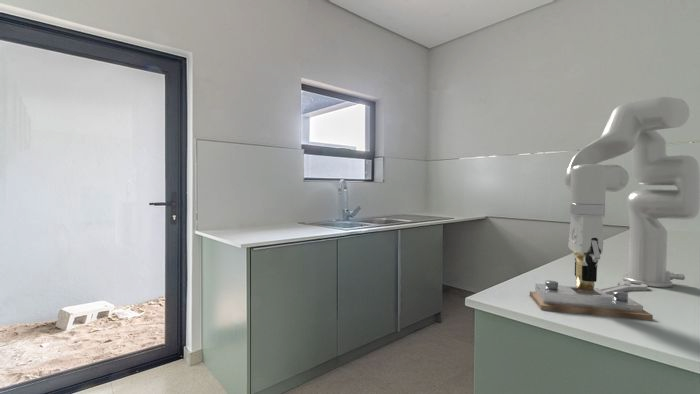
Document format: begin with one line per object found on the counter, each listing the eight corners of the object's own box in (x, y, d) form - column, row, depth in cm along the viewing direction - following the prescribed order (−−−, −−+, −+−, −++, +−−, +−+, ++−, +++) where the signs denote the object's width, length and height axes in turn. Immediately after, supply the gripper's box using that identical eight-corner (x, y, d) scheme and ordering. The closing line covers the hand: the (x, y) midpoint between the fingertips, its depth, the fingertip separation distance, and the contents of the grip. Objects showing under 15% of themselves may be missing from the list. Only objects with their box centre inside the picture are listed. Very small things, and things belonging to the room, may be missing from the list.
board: (626, 303, 91) (626, 299, 91) (652, 320, 79) (652, 315, 79) (529, 295, 97) (529, 291, 97) (541, 309, 86) (541, 305, 86)
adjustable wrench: (596, 299, 96) (596, 293, 96) (574, 293, 102) (574, 287, 102) (651, 290, 104) (651, 285, 104) (628, 285, 110) (628, 279, 110)
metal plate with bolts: (625, 301, 89) (626, 283, 89) (642, 311, 81) (643, 292, 81) (535, 293, 95) (535, 277, 95) (543, 303, 87) (543, 285, 87)
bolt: (592, 286, 90) (593, 250, 90) (601, 292, 85) (602, 254, 84) (568, 284, 92) (569, 248, 91) (576, 290, 86) (577, 252, 86)
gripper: (560, 208, 97) (558, 270, 97) (583, 212, 81) (581, 286, 81) (589, 209, 95) (588, 272, 95) (619, 213, 79) (617, 289, 79)
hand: (585, 278), depth 88 cm, fingers closed on bolt, 4 cm apart
